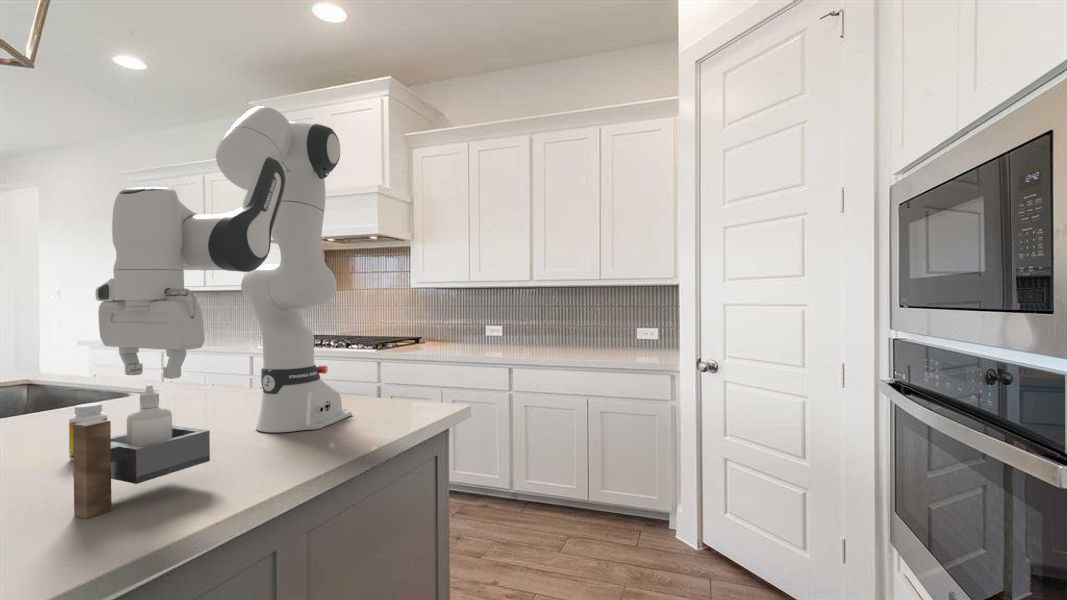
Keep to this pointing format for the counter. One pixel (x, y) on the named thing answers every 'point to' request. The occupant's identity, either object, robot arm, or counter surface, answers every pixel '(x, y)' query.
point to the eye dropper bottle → (149, 421)
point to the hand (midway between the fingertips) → (152, 376)
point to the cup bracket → (127, 461)
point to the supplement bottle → (84, 419)
